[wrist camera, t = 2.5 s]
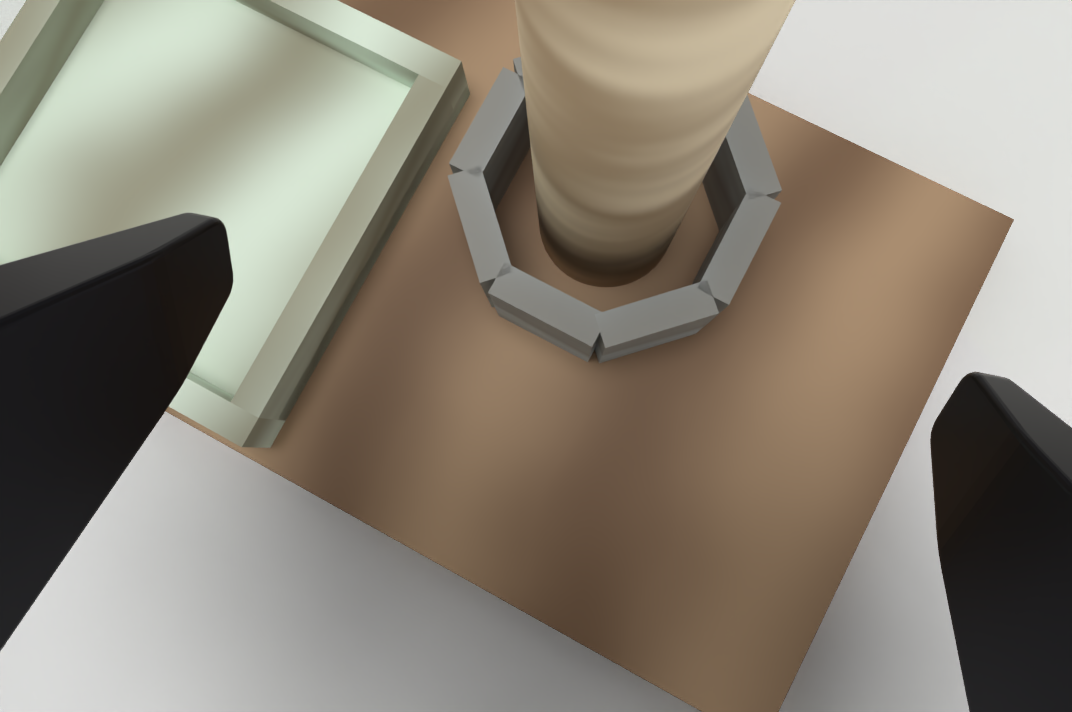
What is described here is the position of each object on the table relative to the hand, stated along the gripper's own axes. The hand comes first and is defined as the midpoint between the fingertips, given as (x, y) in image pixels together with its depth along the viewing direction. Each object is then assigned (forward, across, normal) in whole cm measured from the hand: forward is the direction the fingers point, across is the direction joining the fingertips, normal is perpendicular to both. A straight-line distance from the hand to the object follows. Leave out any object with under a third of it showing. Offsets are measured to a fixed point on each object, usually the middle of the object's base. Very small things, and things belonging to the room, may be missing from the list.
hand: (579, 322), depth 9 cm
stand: (+11, +4, +6) cm, 13 cm away
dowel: (+11, 0, +4) cm, 12 cm away
